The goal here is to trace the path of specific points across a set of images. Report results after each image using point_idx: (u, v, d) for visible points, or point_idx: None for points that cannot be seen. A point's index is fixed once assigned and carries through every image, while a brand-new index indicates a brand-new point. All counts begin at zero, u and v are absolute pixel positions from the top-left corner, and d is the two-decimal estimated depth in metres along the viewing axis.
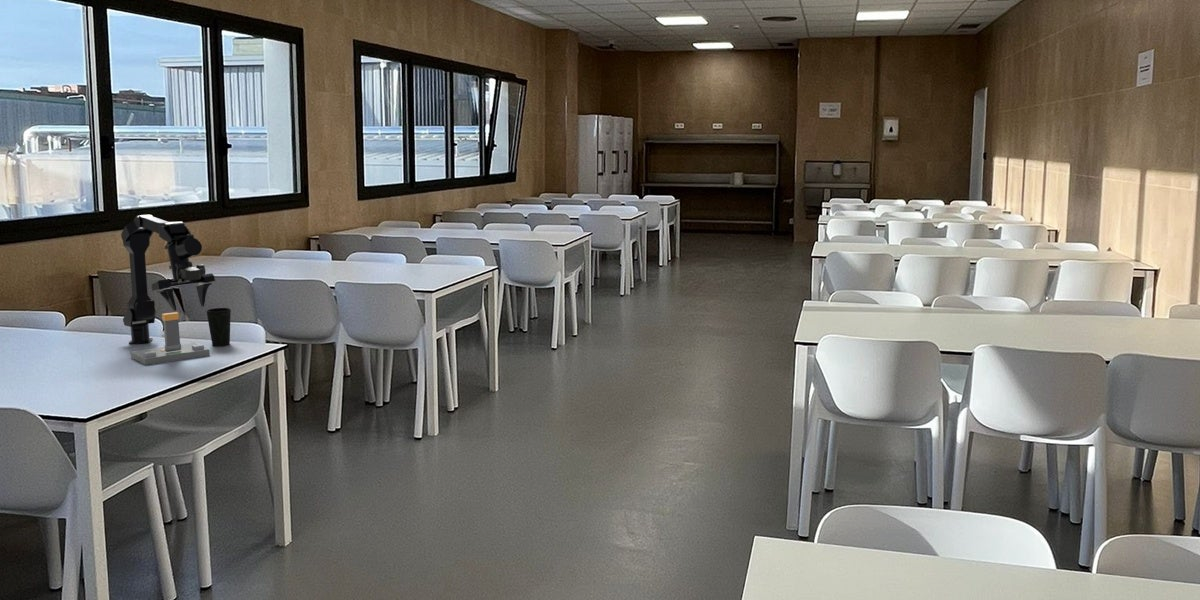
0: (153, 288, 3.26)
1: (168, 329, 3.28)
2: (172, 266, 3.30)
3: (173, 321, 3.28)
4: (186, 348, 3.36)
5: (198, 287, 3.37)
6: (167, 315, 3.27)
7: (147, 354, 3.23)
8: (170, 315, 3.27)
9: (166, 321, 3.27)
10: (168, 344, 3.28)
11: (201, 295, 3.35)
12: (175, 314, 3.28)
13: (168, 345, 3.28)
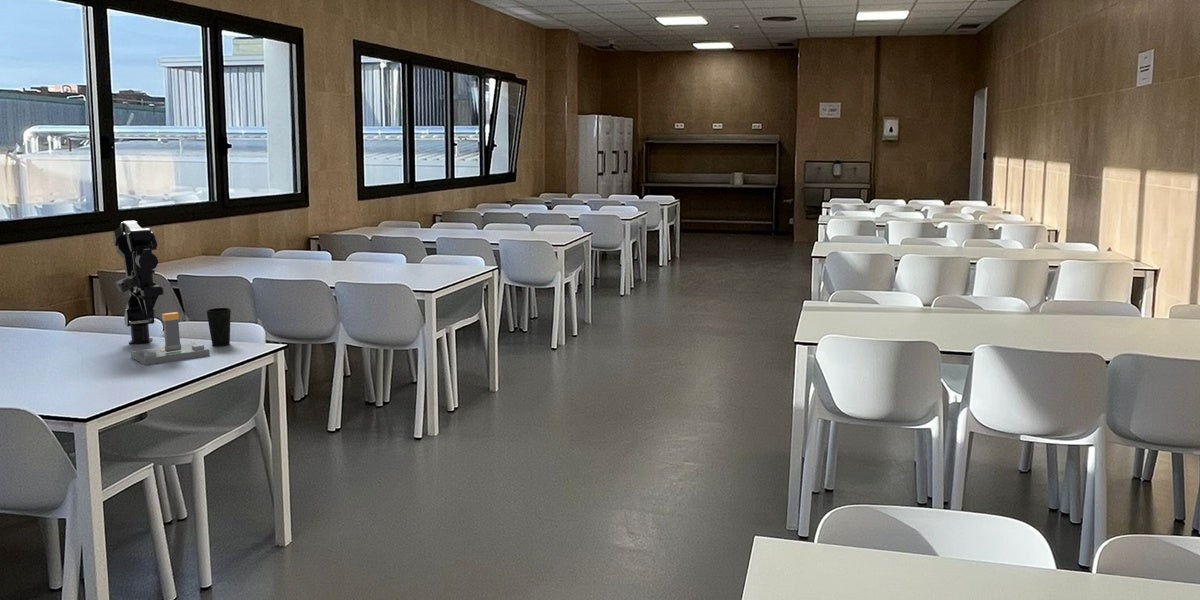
0: None
1: (168, 329, 3.28)
2: None
3: (173, 321, 3.28)
4: (186, 348, 3.36)
5: None
6: (167, 315, 3.27)
7: (147, 354, 3.23)
8: (170, 315, 3.27)
9: (166, 321, 3.27)
10: (168, 344, 3.28)
11: None
12: (175, 314, 3.28)
13: (168, 345, 3.28)
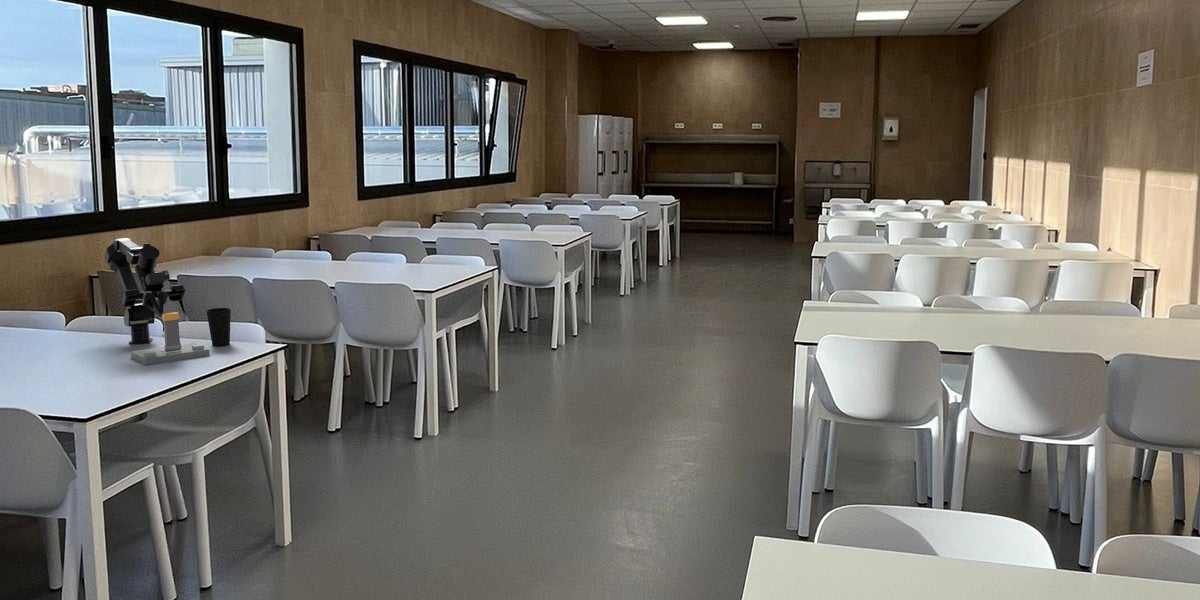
0: (123, 302, 3.34)
1: (168, 329, 3.28)
2: (140, 282, 3.39)
3: (173, 321, 3.28)
4: (186, 348, 3.36)
5: (157, 302, 3.39)
6: (167, 315, 3.27)
7: (147, 354, 3.23)
8: (170, 315, 3.27)
9: (166, 321, 3.27)
10: (168, 344, 3.28)
11: (159, 306, 3.37)
12: (175, 314, 3.28)
13: (168, 345, 3.28)
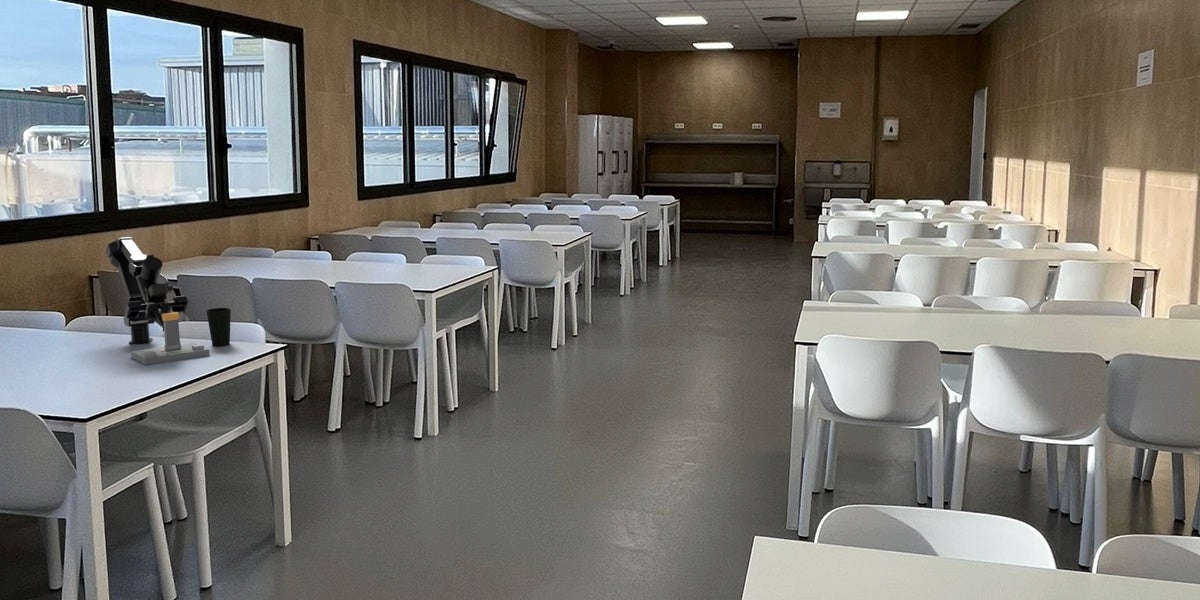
0: (126, 313, 3.32)
1: (168, 329, 3.28)
2: (143, 293, 3.38)
3: (173, 321, 3.28)
4: (186, 348, 3.36)
5: (160, 313, 3.38)
6: (167, 315, 3.27)
7: (147, 354, 3.23)
8: (170, 315, 3.27)
9: (166, 321, 3.27)
10: (168, 344, 3.28)
11: None
12: (175, 314, 3.28)
13: (168, 345, 3.28)
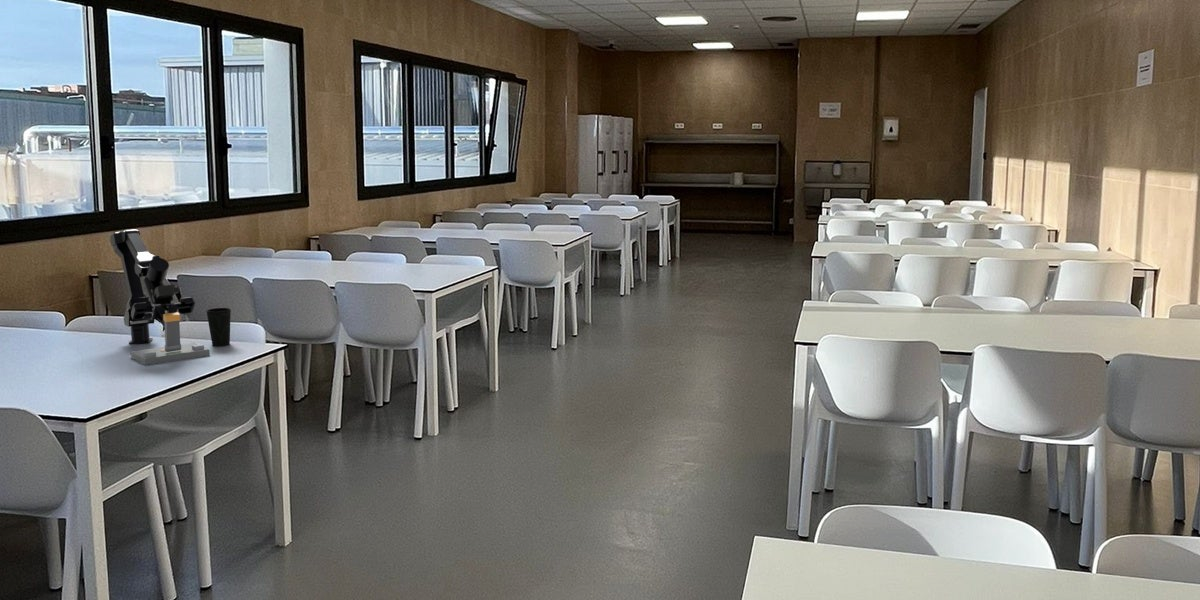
0: (132, 315, 3.28)
1: (169, 330, 3.27)
2: (149, 294, 3.33)
3: (174, 322, 3.28)
4: (186, 348, 3.36)
5: None
6: (168, 316, 3.26)
7: (147, 354, 3.23)
8: (171, 316, 3.27)
9: (167, 322, 3.26)
10: (168, 344, 3.28)
11: None
12: (176, 315, 3.28)
13: (168, 345, 3.28)
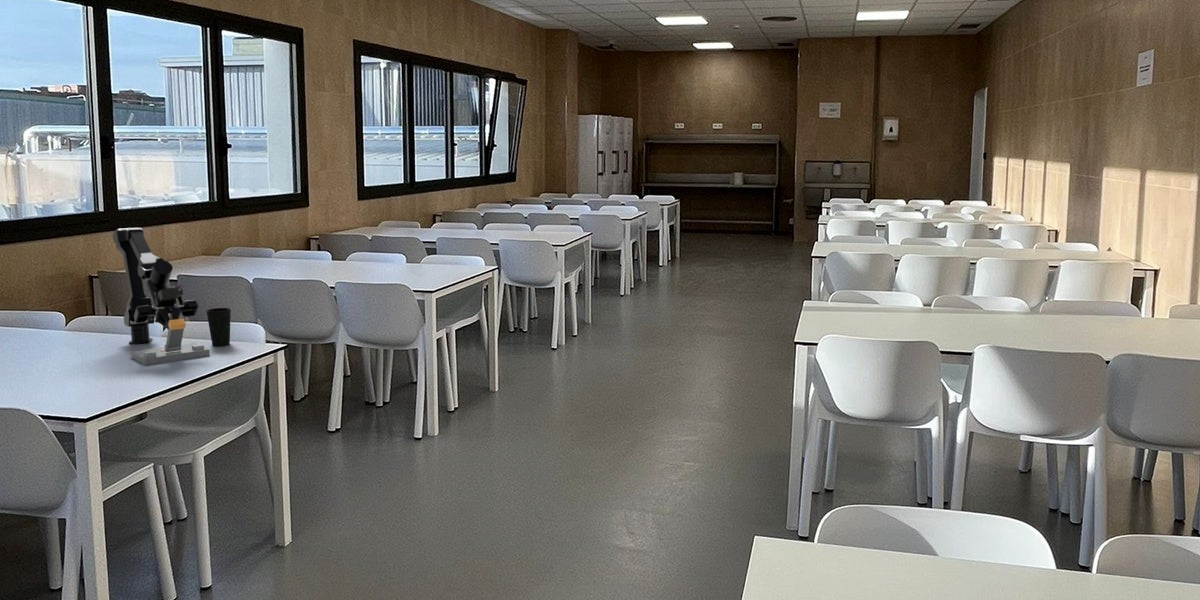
0: (135, 318, 3.26)
1: (172, 335, 3.26)
2: (152, 297, 3.31)
3: (179, 329, 3.25)
4: (186, 348, 3.36)
5: (169, 318, 3.31)
6: (174, 325, 3.23)
7: (147, 354, 3.23)
8: (177, 325, 3.24)
9: (172, 330, 3.24)
10: (169, 347, 3.28)
11: None
12: (182, 324, 3.25)
13: (169, 347, 3.28)
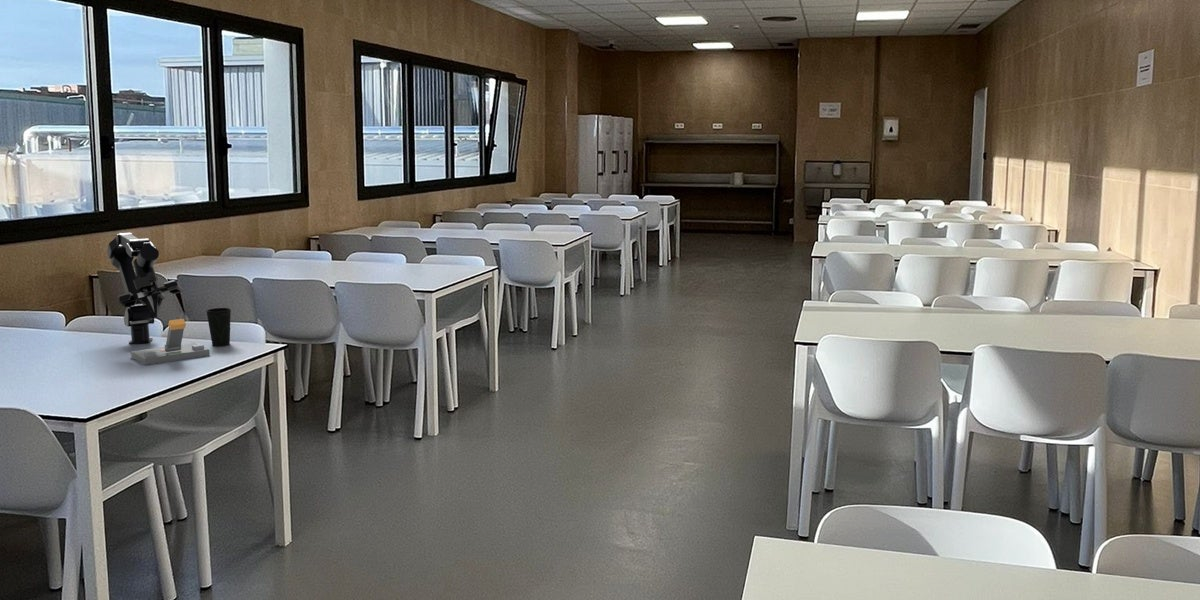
0: None
1: (172, 335, 3.26)
2: None
3: (179, 329, 3.25)
4: (186, 348, 3.36)
5: None
6: (174, 325, 3.23)
7: (147, 354, 3.23)
8: (177, 325, 3.24)
9: (172, 330, 3.24)
10: (169, 347, 3.28)
11: None
12: (182, 324, 3.25)
13: (169, 347, 3.28)
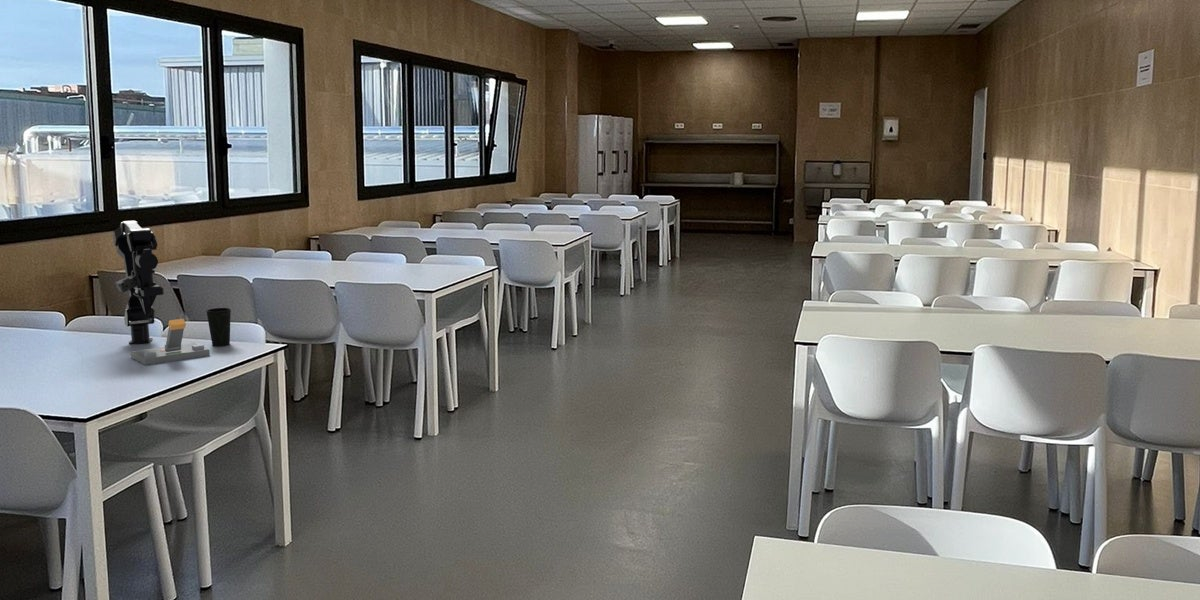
0: None
1: (172, 335, 3.26)
2: None
3: (179, 329, 3.25)
4: (186, 348, 3.36)
5: None
6: (174, 325, 3.23)
7: (147, 354, 3.23)
8: (177, 325, 3.24)
9: (172, 330, 3.24)
10: (169, 347, 3.28)
11: None
12: (182, 324, 3.25)
13: (169, 347, 3.28)
